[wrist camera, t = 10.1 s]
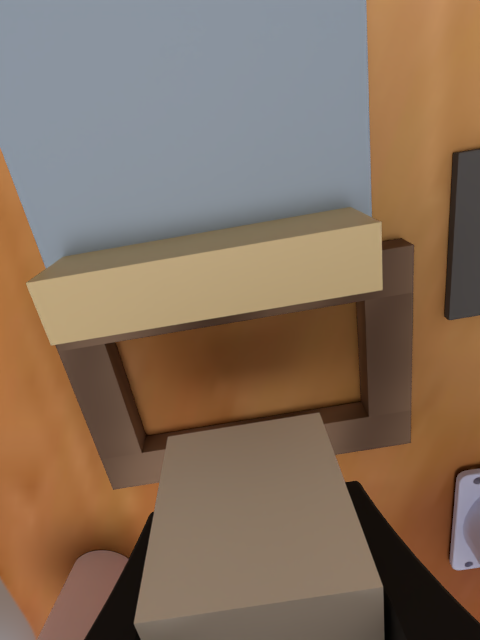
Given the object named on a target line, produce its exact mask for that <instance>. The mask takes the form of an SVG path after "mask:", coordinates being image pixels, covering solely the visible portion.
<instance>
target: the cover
mask: <svg viewBox="0 0 480 640" xmlns="http://www.w3.org/2000/svg"><path fill="white" fill-rule="evenodd" d="M0 148H1V150H2V153H3V156H4V158H5V161H6V164H7V166H8V169H9V172H10V174H11V177H12V179H13V182H14V185H15V187H16V190H17V193H18V195H19V198H20V201H21V203H22V206H23V209H24V211H25V214H26V217H27V219H28V222H29V225H30V227H31V230H32V233H33V235H34V238H35V240H36V243H37V246H38V248H39V251H40V254H41V256H42V259H43V262H44V264H45V267H46V269H45V270H44V271H42V272H41V273H39V274H38V275H37V276H35V277H34V278H32V279H31V280H29V281H28V282H27V283H26V285H27V287H28V290H29V292H30V295H31V297H32V299H33V302H34V304H35V307H36V309H37V312H38V314H39V317H40V319H41V322H42V324H43V327H44V329H45V332H46V334H47V337H48V339H49V341H50V344H51V345H57V344H63V343H69V342H75V341H81V340H87V339H93V338H99V337H105V336H111V335H117V334H123V333H129V332H135V331H141V330H147V329H153V328H159V327H165V326H171V325H177V324H183V323H189V322H195V321H201V320H207V319H213V318H219V317H225V316H231V315H237V314H243V313H249V312H254V311H260V310H266V309H272V308H278V307H284V306H290V305H296V304H302V303H308V302H314V301H320V300H326V299H332V298H338V297H344V296H350V295H356V294H362V293H368V292H374V291H380V290H383V279H382V222H381V221H379V220H377V219H374V218H372V204H371V166H370V128H369V90H368V52H367V14H366V0H0Z"/></svg>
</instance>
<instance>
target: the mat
mask: <svg viewBox="0 0 480 640" xmlns="http://www.w3.org/2000/svg"><path fill="white" fill-rule="evenodd" d="M478 315H480V149H474V150H468V151H463V152H457V153H453V166H452V185H451V204H450V223H449V241H448V260H447V279H446V298H445V317H446V318H447V319H448V320H454V319H460V318H466V317H472V316H478Z"/></svg>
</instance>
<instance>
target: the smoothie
mask: <svg viewBox="0 0 480 640" xmlns="http://www.w3.org/2000/svg"><path fill="white" fill-rule="evenodd" d="M127 561H128V558H126V557H125V556H123V555H121V554H119V553H116V552H113V551H106V550H98V551H92V552H88V553H86V554H84V555H82V556H80V557H79V558H78V559H77V560H76V562H75V563H74V565H73V568H72V570H71V572H70V574H69V576H68V578H67V580H66V582H65V584H64V586H63V588H62V590H61V592H60V594H59V596H58V598H57V600H56V602H55V604H54V606H53V608H52V610H51V613H50V615H49V617H48V619H47V621H46V623H45V625H44V627H43V629H42V631H41V633H40V635H39V637H38V639H37V640H84V639H85V637H86V635H87V634H88V632H89V630H90V629H91V627H92V625H93V623H94V622H95V620H96V618H97V616H98V615H99V613H100V611H101V610H102V608H103V606H104V604H105V603H106V601H107V599H108V597H109V596H110V594H111V592H112V590H113V588H114V586H115V584H116V582H117V581H118V579H119V577H120V575H121V573H122V571H123V569H124V567H125V565H126V563H127Z"/></svg>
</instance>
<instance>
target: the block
mask: <svg viewBox="0 0 480 640" xmlns="http://www.w3.org/2000/svg"><path fill="white" fill-rule="evenodd" d="M134 626H135V628H136V630H137V632H138V635H139V637H140V639H141V640H385V638H384V596H383V585H382V582H381V579H380V577H379V574H378V571H377V568H376V566H375V563H374V560H373V558H372V555H371V552H370V549H369V547H368V544H367V541H366V538H365V536H364V533H363V530H362V527H361V525H360V522H359V519H358V517H357V514H356V511H355V508H354V506H353V503H352V500H351V497H350V495H349V492H348V489H347V487H346V484H345V481H344V478H343V476H342V473H341V470H340V467H339V465H338V462H337V459H336V456H335V454H334V451H333V448H332V446H331V443H330V440H329V437H328V435H327V432H326V429H325V426H324V424H323V421H322V418H321V415H320V413H313V414H306V415H300V416H294V417H288V418H281V419H275V420H269V421H263V422H256V423H250V424H244V425H237V426H231V427H225V428H219V429H212V430H206V431H200V432H194V433H187V434H181V435H175V436H169V437H168V439H167V444H166V450H165V455H164V461H163V466H162V472H161V477H160V482H159V488H158V493H157V499H156V504H155V510H154V515H153V521H152V526H151V532H150V537H149V543H148V548H147V553H146V559H145V564H144V570H143V575H142V581H141V586H140V592H139V597H138V603H137V608H136V614H135V619H134Z"/></svg>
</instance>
